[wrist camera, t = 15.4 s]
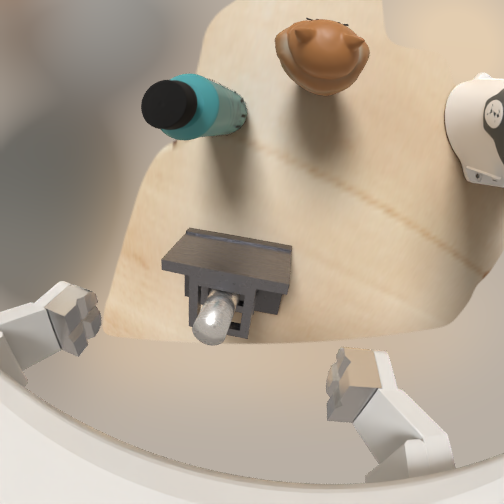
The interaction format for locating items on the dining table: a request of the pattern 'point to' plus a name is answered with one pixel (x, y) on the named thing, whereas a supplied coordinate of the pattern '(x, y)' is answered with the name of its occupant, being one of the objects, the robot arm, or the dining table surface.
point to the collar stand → (231, 272)
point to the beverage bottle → (193, 107)
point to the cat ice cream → (321, 55)
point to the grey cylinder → (215, 317)
